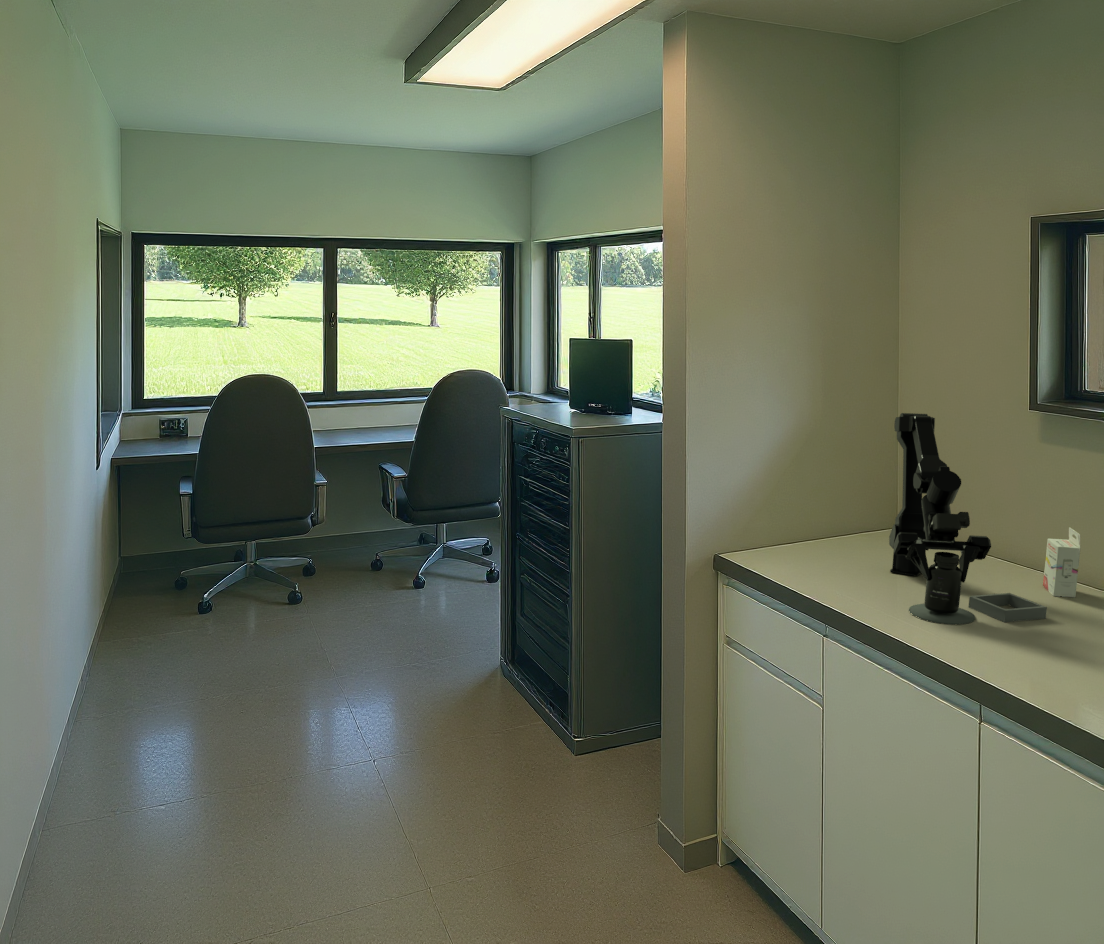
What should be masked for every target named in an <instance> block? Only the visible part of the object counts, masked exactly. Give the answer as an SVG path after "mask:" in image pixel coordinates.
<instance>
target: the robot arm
mask: <svg viewBox="0 0 1104 944" xmlns="http://www.w3.org/2000/svg"><path fill="white" fill-rule="evenodd" d="M893 424H894V431H895V432H896V440H897V442H898V443H899V445H900V447H901V448H902V450H903V452H902V454H903V457H902V460H903V461H902V506H901V507H902V508H901V509H900V511H899V512H898V514H897V515H896V517H895V519H894V524H893V525H892V528H891V530H890V533H889V536H888V538H889V539H888V540H889V541H888V542H889V543H888V544H889V546H890V547H891V548H892V550H893V554H892V567H891V568H890V570H889V573H894V574H900V575H901V574H902V575H906V576H912V577H914V576H915V577H918V576H919V575H920V574H922V575H923V577H924V579H925V580H926V582H927V581H929V579H930V572H929V567H930V566H929V563H928V559H927V551H929V550H933V551H934V550H935V551H938V550H939V551H954V552H955V551H957V552H960V556H959V565H958V568H960V569H961V571H962V583H965V582H966V579H967V575H968V571H969V567H970V563H973V562H974V561H975V560H978V561H979V560H980V561H982V560H985V559H986V557H987V555H988V553H990V549H991V548H992V543H991V539H990V538H989V537H988V536H987V535H974V534H973V535H972V534H970V535H969V536H968V537H967V540H966V541H961V540H959V541H958V540H956V538H958V536H959V531H961V530H962V529H967V528H968V527H970V525H971V520H970V519H971V518H970V514H969V513H970V512H968V511H959V512H958V513H952V512H951V511H952V510H951V505H952V504H953V503H954V501H955V499H956V498H957V495H958V493H959V490H960V488H961V485H962V479H961V478H960V476H959V475H958V474H957V473H956V472H954V471H953V470H951V468H950V466H948V465H947V464H946V463H945V461H943V460H942V459H941V458H940V455H939V454H940V453H939V451H938V450H939V449H938V445H937V440H936V434H935V427H936V417H933V416H931V415H928V413H911V412H910V413H907V412H901V413H900V415H899V416H897V417H895V419H894V423H893ZM923 494H925V495H924V496H923Z"/></svg>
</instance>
